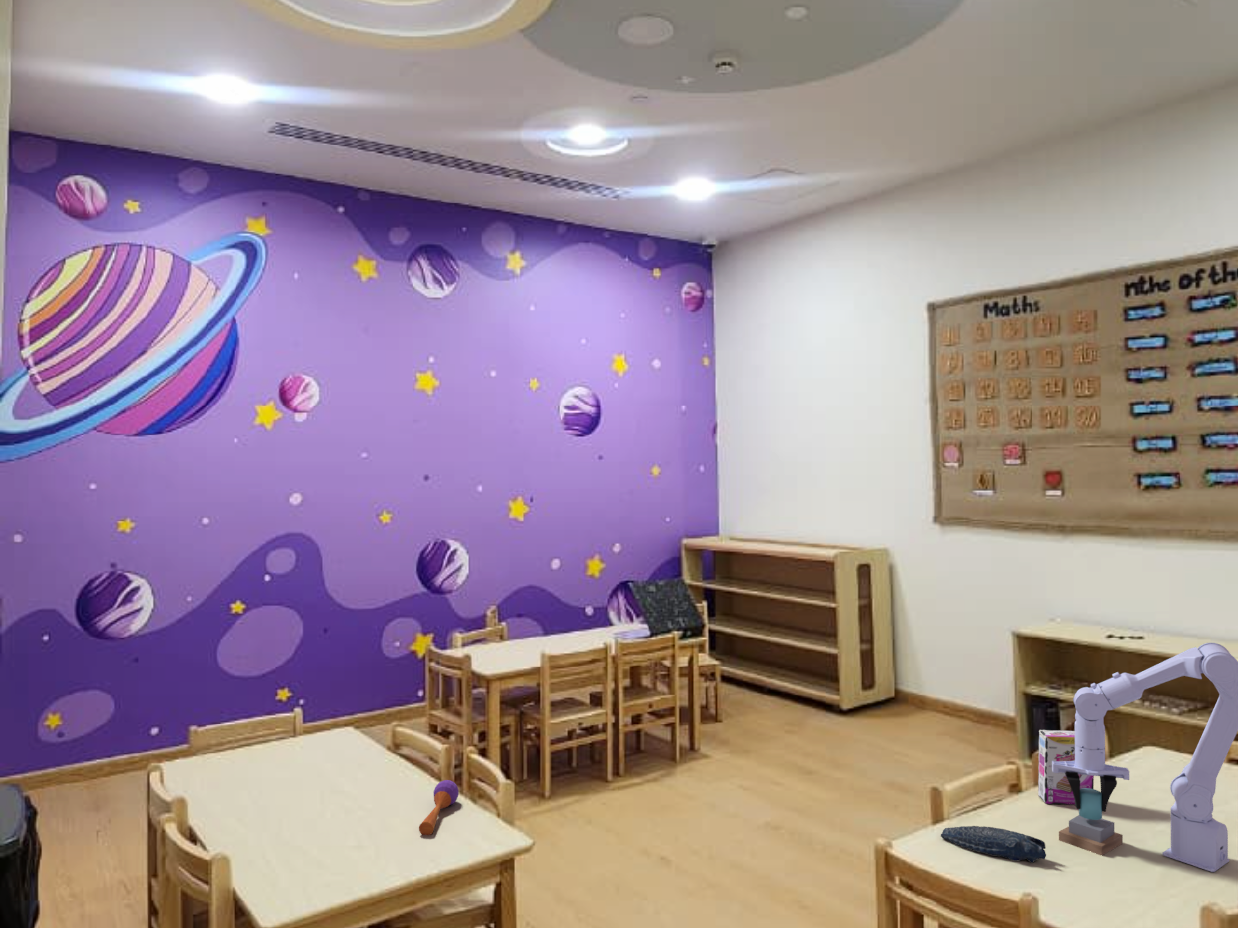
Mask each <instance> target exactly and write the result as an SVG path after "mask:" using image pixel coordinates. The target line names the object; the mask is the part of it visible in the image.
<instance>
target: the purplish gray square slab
mask: <svg viewBox="0 0 1238 928" xmlns="http://www.w3.org/2000/svg"><path fill="white" fill-rule="evenodd" d="M1068 827H1069V833H1072V834H1075V835H1078V836H1081V837H1084V838H1087V839H1090V840H1093V841H1096V842H1099V843H1101V842H1103V841H1104V840H1106V839H1107V838H1109V837H1111V836H1112V835H1114V832H1115V822H1114V821H1111V820H1108V819H1106V818H1105V819H1104V818H1102V819H1099V820H1091V819H1086V818H1083V817H1081V816H1080V815H1079V814H1078V815H1077V816H1075V817H1072V818H1071V819H1069V820H1068Z"/></svg>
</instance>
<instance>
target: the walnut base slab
mask: <svg viewBox="0 0 1238 928" xmlns="http://www.w3.org/2000/svg"><path fill="white" fill-rule="evenodd" d="M1123 835H1124V834H1122V833H1118V832H1115V831H1114V835H1112V836H1111V837H1109V838H1107V839H1106V840H1104V841H1103V842H1101V843H1099V842H1096V841H1093V840H1090V839H1087V838H1084V837H1081V836H1078V835H1075V834H1072V833H1069V826H1067V827H1065V828H1063V829H1061V830H1059V831H1058V841H1059V842H1063V843H1065V844H1068V845H1070V846H1073V847H1077V848H1079V849H1082V850H1084V851H1088V852H1090V851H1091V853H1093V854H1095V853H1096V854H1095V855H1099V856H1101V855H1102V856H1103V855H1104V856H1105V854H1108V853H1109V852H1111V851H1113V850H1114V849H1116V848H1118V847H1120V846H1121V845H1123V843H1124V842H1123V839H1124V838H1123Z"/></svg>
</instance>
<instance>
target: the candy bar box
mask: <svg viewBox="0 0 1238 928" xmlns="http://www.w3.org/2000/svg"><path fill="white" fill-rule="evenodd" d="M1052 761H1075V730H1059V729H1058V730H1051V729H1039V730H1038V784H1037V785H1038V790H1037V791H1038V793H1037V794H1038V797H1039V799H1041V800H1042V802H1043V803H1044V804H1047V805H1048V804H1050V805H1075V800H1074V795H1073V792H1072V789H1071V786H1070V784H1069V782H1068V779H1067V777H1066V775H1065V773H1062V772H1059V773H1053V771H1052ZM1078 775H1079V779H1080V789H1082V788H1089V789H1094V785H1095V784H1094V783H1095V782H1094V779H1095V776H1092V775H1083V774H1078Z"/></svg>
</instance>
